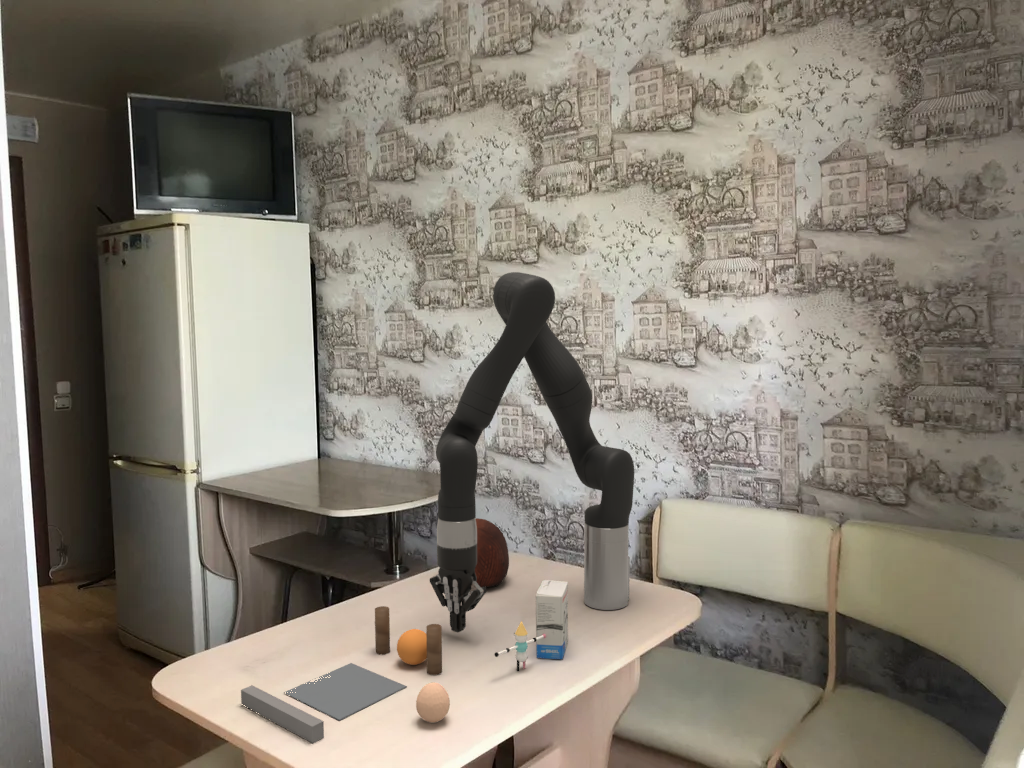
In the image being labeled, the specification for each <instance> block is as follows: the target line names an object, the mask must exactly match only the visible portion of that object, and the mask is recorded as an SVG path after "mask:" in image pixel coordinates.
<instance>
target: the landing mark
mask: <svg viewBox="0 0 1024 768" xmlns="http://www.w3.org/2000/svg"><path fill="white" fill-rule="evenodd" d="M329 675H330V676H331V677H330V676H329ZM322 676H323V677H324V678H323V677H322ZM327 676H328V677H330V678H328V677H327ZM318 677H319V678H320V677H321V678H322V679H321V678H320V679H318V681H317V680H315V681H317V682H315V681H314V682H310V681H311V680H309V681H307V682H304V683H305V684H304V683H302V684H300V685H298V686H295V687H292V688H291V689H288V690H287V691H284V692H283V694H284V693H285V692H286V694H288V695H290V696H292V697H293V698H292V697H291V698H292V699H294V698H295V699H294V700H296V699H298V700H300V701H301V702H300V701H299V702H300V703H302V702H303V704H304V703H306V704H307V705H306V704H305V705H306V706H308V705H309V707H310V706H311V707H310V708H312V707H314V708H316V709H317V710H316V709H315V710H316V711H318V710H319V712H320V711H321V713H322V712H323V714H324V713H325V715H326V714H327V715H326V716H328V715H329V717H330V716H331V718H333V719H335V720H337V721H338V722H341V721H342V720H344V719H346V718H348V717H350V716H352V715H354V714H356V713H358V712H361V711H362V710H364V709H366V708H368V707H370V706H372V705H374V704H376V703H378V702H380V701H382V700H384V699H387V698H388V697H390V696H392V695H394V694H396V693H398V692H400V691H403V690H404V689H406V688H407V685H406V684H403V683H400V682H398V681H395V680H394V679H391V678H388V677H387V676H384V675H381V674H379V673H376V672H374V671H371V670H369V669H367V668H365V667H362V666H360V665H357V664H355V663H352V662H350V663H347V664H345V665H343V666H340V667H339V668H337V669H334V670H332V671H330V673H329V672H328V674H327V673H325V674H323V675H321V676H320V675H319V676H318ZM325 677H327V678H325ZM320 680H321V681H320ZM306 683H307V684H306ZM309 683H310V684H309ZM314 683H315V684H314ZM295 688H296V689H295ZM291 690H292V691H291ZM287 692H288V693H287ZM290 692H291V693H290ZM292 692H293V693H292ZM295 692H296V693H295ZM286 694H285V695H286ZM288 695H287V696H288ZM290 696H289V697H290ZM298 700H297V701H298ZM314 708H313V709H314Z"/></svg>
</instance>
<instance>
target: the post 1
mask: <svg viewBox="0 0 1024 768" xmlns="http://www.w3.org/2000/svg"><path fill="white" fill-rule="evenodd" d="M390 625H391V624H390V607H389V606H385V605H384V606H383V605H382V606H377V607H376V608H374V633H375V634H374V635H375V636H374V637H375V646H374V647H375V654H377V655H380V654H382V655H387V654H390V652H391V637H390V635H391V633H390V632H391V631H390V630H391V628H390Z"/></svg>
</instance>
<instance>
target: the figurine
mask: <svg viewBox="0 0 1024 768" xmlns="http://www.w3.org/2000/svg"><path fill="white" fill-rule="evenodd" d="M476 525H477V565H476V567H475V574H476V577H477V581H476V582H477V583H478V585H479V586H480V587H485V588H493V587H498V586H500V585H501V584H502V583H503V582H504V579H506V577H507V576H508V570H509V569H510V568H509V567H510V556H509V554H510V553H509V548H508V543H507V541H506V537H505V535H504V533H503V532H502V531H501V529H500V527H498V526H497V525H496V524H494V523H493V522H491V521H490V520H487V519H484V518H476Z"/></svg>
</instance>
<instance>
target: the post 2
mask: <svg viewBox="0 0 1024 768" xmlns="http://www.w3.org/2000/svg"><path fill="white" fill-rule="evenodd" d="M425 628H426V629H425V630H426V632H425V633H426V637H427V659H426V673H427V674H428V675H430V676H437V675H440V674H442V673H443V641H442V639H443V637H442V636H443V633H442V631H443V629H442V624H439V623H430V624H427V625H426V627H425Z"/></svg>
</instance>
